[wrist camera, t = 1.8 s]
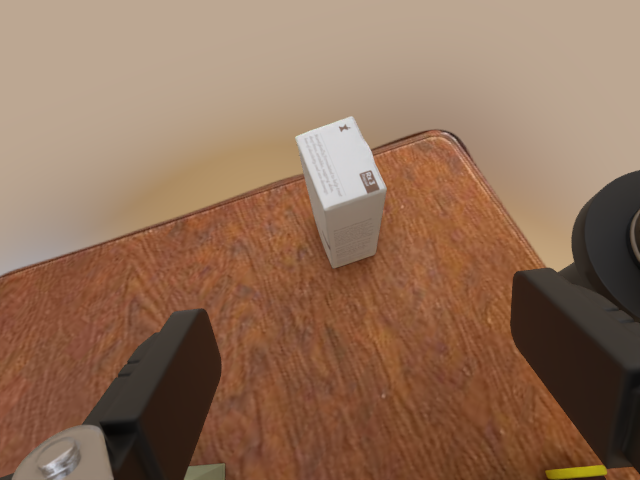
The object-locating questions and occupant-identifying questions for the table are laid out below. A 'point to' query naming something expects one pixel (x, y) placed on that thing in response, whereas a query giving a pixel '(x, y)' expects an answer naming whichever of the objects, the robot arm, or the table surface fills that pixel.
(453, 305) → the table surface
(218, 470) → the bin
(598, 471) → the opera glasses
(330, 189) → the cosmetic box
